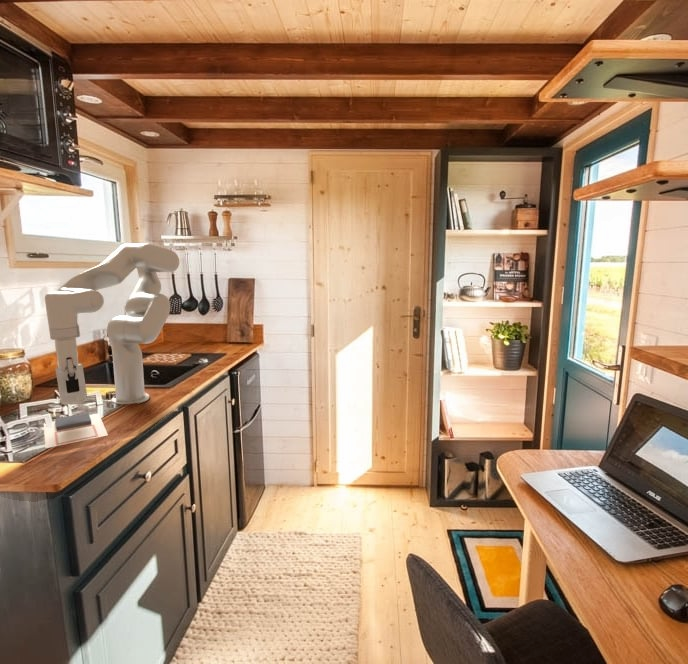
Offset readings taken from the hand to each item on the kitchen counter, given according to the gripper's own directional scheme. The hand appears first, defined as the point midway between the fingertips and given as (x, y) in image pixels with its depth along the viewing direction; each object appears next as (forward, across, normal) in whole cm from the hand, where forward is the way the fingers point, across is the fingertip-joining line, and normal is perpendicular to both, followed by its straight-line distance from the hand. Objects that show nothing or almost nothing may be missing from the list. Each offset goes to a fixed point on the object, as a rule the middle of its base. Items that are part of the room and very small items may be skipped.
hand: (72, 388), depth 129 cm
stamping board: (+12, +6, -1) cm, 13 cm away
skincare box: (+5, 0, 0) cm, 5 cm away
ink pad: (+11, +1, -1) cm, 11 cm away
